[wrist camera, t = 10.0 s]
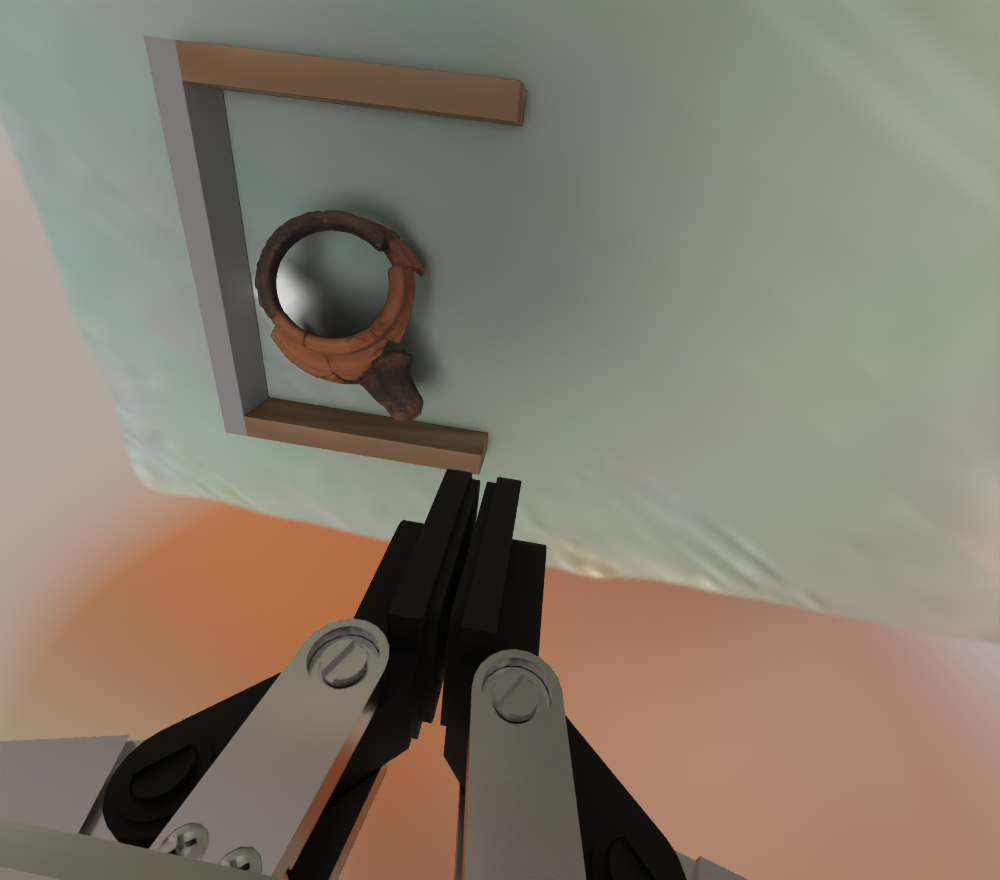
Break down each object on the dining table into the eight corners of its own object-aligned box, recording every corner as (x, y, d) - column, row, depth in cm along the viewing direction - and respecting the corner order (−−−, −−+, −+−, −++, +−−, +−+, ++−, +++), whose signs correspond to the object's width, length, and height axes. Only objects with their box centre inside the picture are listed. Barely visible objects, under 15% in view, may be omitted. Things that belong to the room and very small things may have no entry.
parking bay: (189, 50, 25) (143, 36, 22) (526, 90, 23) (521, 80, 21) (251, 412, 35) (226, 432, 33) (486, 451, 34) (479, 474, 32)
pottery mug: (265, 307, 32) (194, 264, 23) (380, 222, 32) (351, 151, 24) (379, 452, 32) (349, 459, 24) (490, 367, 33) (498, 346, 24)
